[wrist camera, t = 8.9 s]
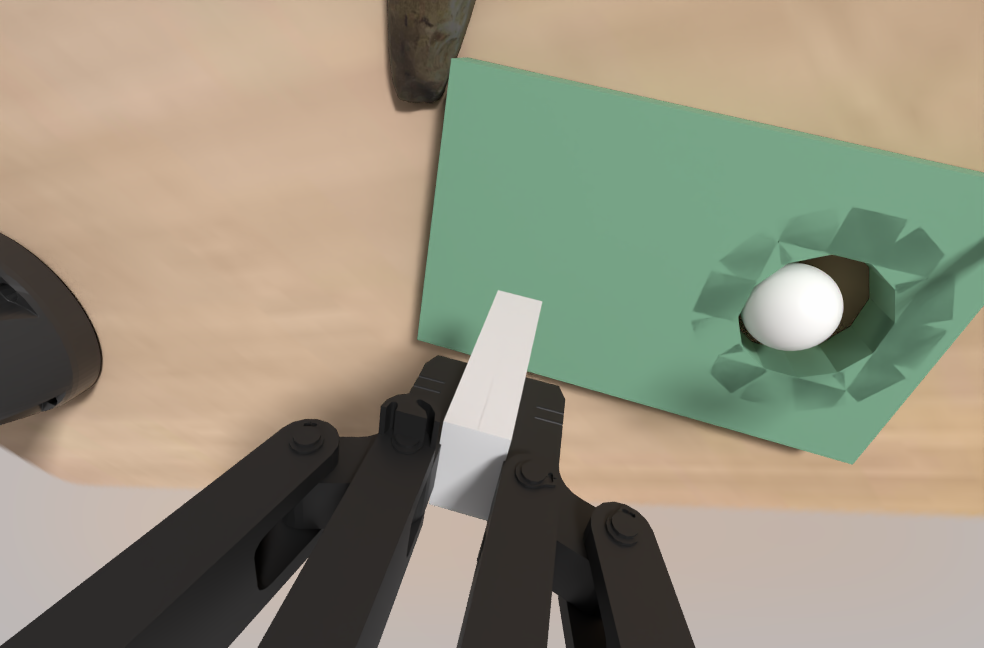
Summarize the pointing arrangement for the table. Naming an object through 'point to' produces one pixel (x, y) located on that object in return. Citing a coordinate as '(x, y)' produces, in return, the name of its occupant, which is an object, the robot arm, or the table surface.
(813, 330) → the ball
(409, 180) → the table surface
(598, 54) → the table surface
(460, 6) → the stone
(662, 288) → the green
